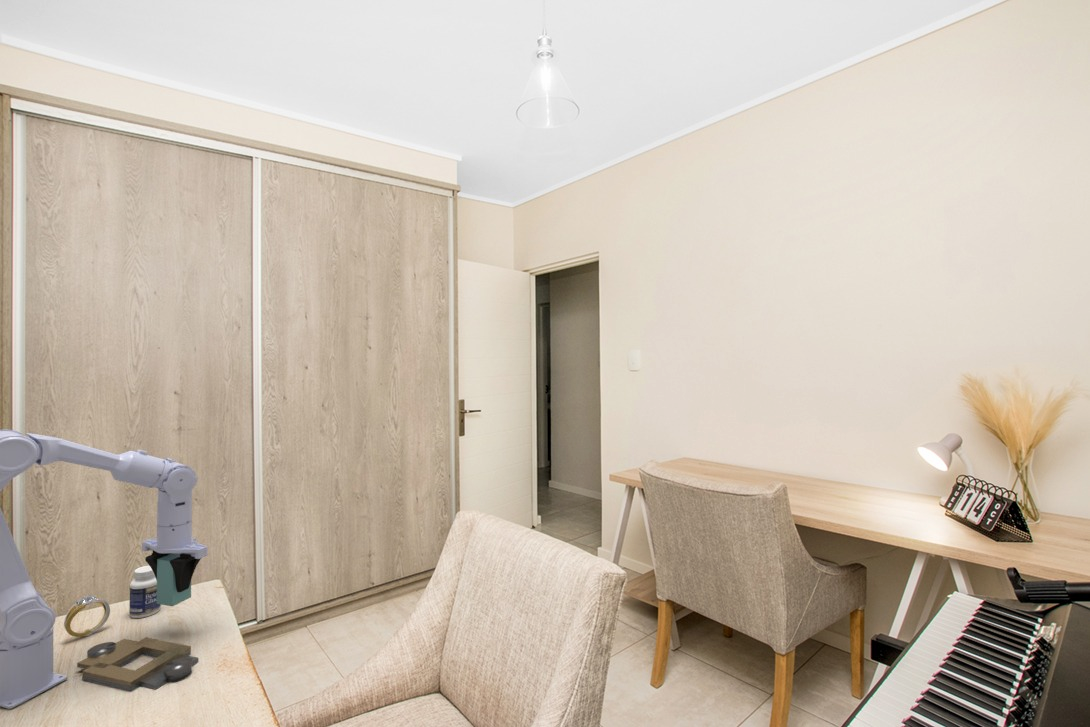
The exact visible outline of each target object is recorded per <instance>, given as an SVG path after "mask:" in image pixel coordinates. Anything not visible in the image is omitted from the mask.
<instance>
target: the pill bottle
mask: <svg viewBox="0 0 1090 727" xmlns="http://www.w3.org/2000/svg"><path fill="white" fill-rule="evenodd" d="M133 578H134V579H132V581H131V582H130V584H129V610H128V612H129V614H128V615H129V617H130V618H132V619H140V618H146V617H150V616H152V615H155V614H156V613H158V612H159V611H160V609H161V606H162V605H161V604H157V580H156V577H155V575H154V572H153V570H152V568H151V567H150V565H149V564H148V565H143V566H140V567H138V568H135V570H134V572H133Z"/></svg>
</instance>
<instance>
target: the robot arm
mask: <svg viewBox="0 0 1090 727" xmlns="http://www.w3.org/2000/svg"><path fill="white" fill-rule="evenodd" d="M25 434H26V435H24V434H23V433H21V432H19V431H16V430H14V429H7V428H5V429H0V492H1V491H2V490H3V489H4V488H5V487H6V486H7V485H8V484H9V483H10V482H11V480H12V479H14V478H16V477H17V476H19V475H20V474H23V473H24V472H25V471H28V469H30V468H31V467H32V466H34V465H35V464H37V465H38V466H40V467H43V466H46V465H50V464H54V463H56V462H64V463H68V464H74V465H78V466H83V467H88V468H93V469H98V470H103V471H108V472H110V473H111V476H112V478H113V480H114V481H118V482H122V483H127V484H132V485H137V486H140V487H144V488H148V489H155V488H157V489H158V490H157V501H156V502H157V506H156V508H157V514H156V538H149V539H146V540H143V541H142V542H141V548H142V549H141V551H142V552H149V551H150V552H151V551H152V553H151V554H149V555H147V556H145V562H146V563H147V564H148V566H149V565H150V567H151V568H152V570H153V572H154V575H155V577H156V580H157V559H159V558H162V557H164V556H167V555H169V554H179V555H180V557H177V558H175V559H172V560H170V564H171V566H172V568H173V570H174V574H175V582H176V589H177V592H182V591H184V590H186V589H188V588H189V586H190V582H191V583H192V579H193V577H194V576H193V575H194V573H195V570H196V568H197V566H198V564H199V562H200V561H201V559H202V558H205V557H207V556H208V548H209V547H208V545H205V544H201V543H199V542H197V541H196V537H193V489H194V488H195V486H196V485H197V483H198V479H199V477H198V476H196V472H195V470H194V469H193V467H191V466H189V465H185V464H182V463H180V462H177V461H176V460H174V459H172V458H169V457H166V458H160V457H156V456H153V455H149V454H148V451H146V450H143V449H137V451H134V450H128V451H126V452H123V453H120V454H116V453H113V452H109V451H105V450H102V449H100V448H99V449H98V448H95V447H92V446H88V445H85V444H81V443H77V442H73V441H70V440H67V439H64V438H60V437H55V436H49V435H43V434H37V433H30V432H25ZM1 507H2V506H0V707H2V708H6V709H8V710H9V709H10V710H11V709H14V708H15V707H17V706H19V705H21V704H23V703H25V702H27V701H28V700H30V699H32V698H35V697H37V696H39V695H40V694H41V693H43V692H45V691H48V690H49V689H51V688H53V687H55V686H57V685H59V684H60V683H62V682H64V681H65V680H67V679H68V676H67V675H64V674H60V673H55V672H54V625H55V623H56V618H57V617H56V613H55V610H54V609H53V608H52V607H50V606H49V605H48V604H47V603H46V601H45V598H44V597H43V595H42V594H41V593H40V592H38V591H37V590H36V588H35V585H34V584H33V582H32V580H31V578H30V576H29V573H28V571H27V568H26V565H25V563H24V561H23V559H22V557H21V553H20V551H19V548H18V547H17V544H16V541H15V540H14V536H13V533H12V531H11V530H10V528H9V524H8V522H7V520H6V517H5V515H4V512H3V511H2V508H1Z"/></svg>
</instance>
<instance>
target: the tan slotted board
mask: <svg viewBox="0 0 1090 727" xmlns="http://www.w3.org/2000/svg"><path fill="white" fill-rule="evenodd" d="M190 650H191V651H192V646H191V645H187V644H183V643H176V642H173V641H167V640H161V639H156V638H152V637H144V638H142V639H140V640H133V639H128V638H123V639H120V640H119V641H117V642H113V641H106V642H102V643H99V644H96V645H93V646H92V647H90V648H89V649H88V650H87V656H86V657H85V658H84V659H81V660H80V661H78V662H77V667H76V668H79V669H84V670H82V671H81V672H82V676H86V677H90V678H95V679H99V680H103V681H108V682H112V683H116V684H121V685H125V686H130V687H131V686H133V685H135V684H136V683H138V682H140V681H141V680H143V679H145V678H146V677H148V676H149V675H151V674H153V673H154V672H156V671H158V670H159V669H161V668H163V667H164V666H165V665H166V664H167V663H169V662H171V661H173V660H175V659H177V658H179V657H181V656H182V655H184V654H185V653H187V652H189V651H190ZM142 651H146V652H151V653H156V654H160V656H159V657H157V658H155V657H154V658H153V659H152V660H150V661H148V662H147V663H145V664H142V666H140V667H138V668H136V669H130V668H125V667H123V666H122V667H117V665H118V664H120V663H122V662H124V661H126V660H127V659H129V658H131V657H133V656H135V655H136V654H138V653H140V652H142ZM82 676H81V677H82Z"/></svg>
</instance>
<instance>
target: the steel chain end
mask: <svg viewBox="0 0 1090 727" xmlns="http://www.w3.org/2000/svg"><path fill="white" fill-rule="evenodd" d="M191 655H192V649H191V650H190V651H189V652H187V653H185V654H184V655H182V656H181V657H179V658H177V659H175V660H173V661H171V662H169V663H167V664H166V665H165V666H164V667H163V668H161V669H159V670H158V671H156V672H154V673H153V674H151V675H149V676H148V677H146V678H145V679H143V680H141V681H140V682H138V683H136V684H135V685H133V686H131V687H130V686H125V685H121V684H116V683H112V682H108V681H103V680H99V679H95V678H90V677H86V676H81V677H82V678H81V679H82V681H84V682H89V683H93V684H96V685H97V684H98V685H101V686H106V687H111V688H115V689H118V690H122V691H123V690H124V691H127V692H133V691H134V690H135V689H138V688H139V687H142V688H143V687H144V688H148V689H152V690H158V689H159V688H160V687H162V686H164V685H165V684H167V683H177V682H179V681H182V680H184V679H186V678H188V677H189V676H190V675H191V674H192V670H193V669H192V668H193V666H194V665H196V664H198V663H199V657H197V656H191ZM142 656H144V657H145V656H146V657H150V658H154V659H155V658H157V657H159V656H160V654H156V653H151V652H146V651H142V652H140V653H138V654H136V655H135V656H133V657H131V658H129V659H127V660H126V661H124V662H122V663H120V664H118V665H117V667H122V668H123V667H124V666H126V665H128V664H129V663H132V662H133V661H135V660H137V659H139V658H141V657H142Z"/></svg>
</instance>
